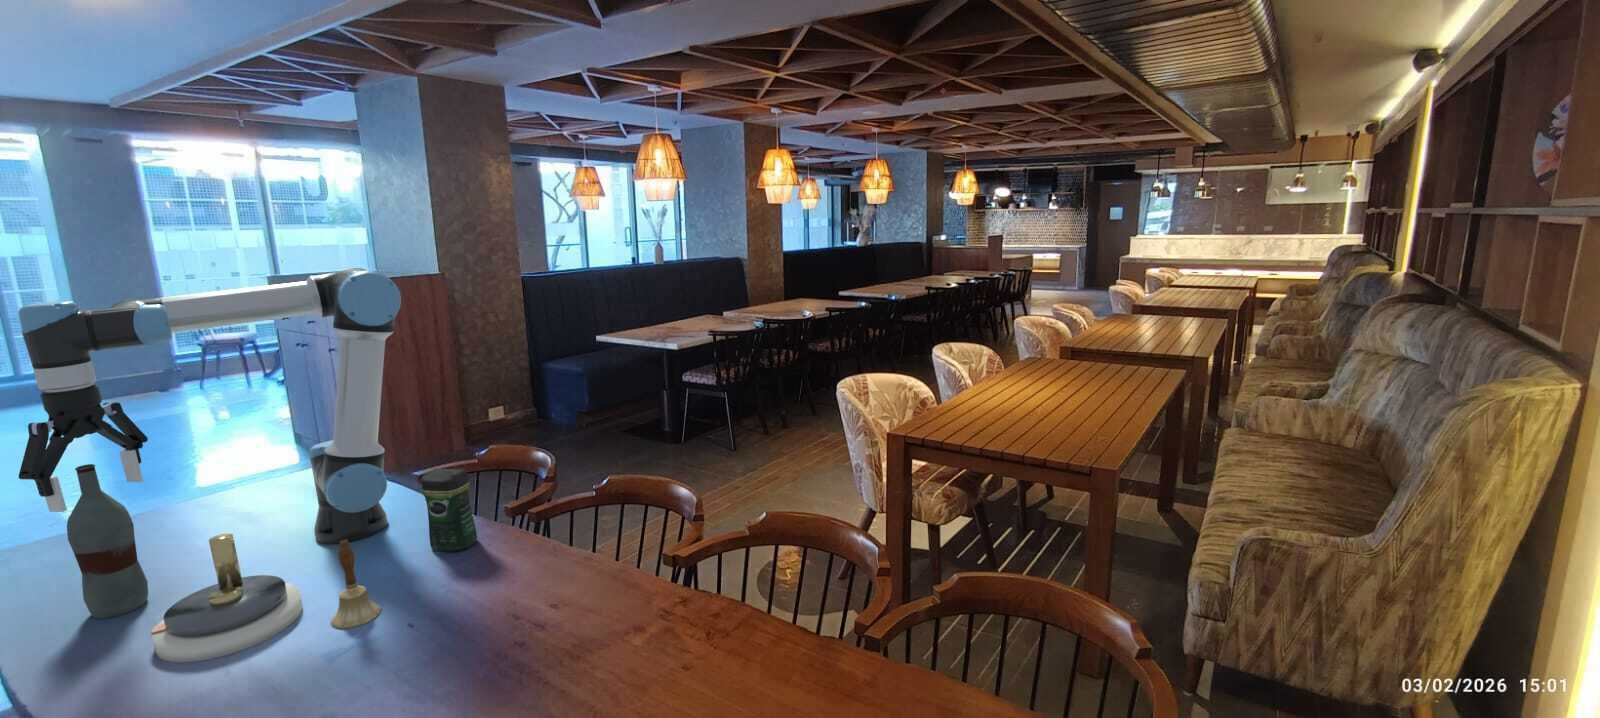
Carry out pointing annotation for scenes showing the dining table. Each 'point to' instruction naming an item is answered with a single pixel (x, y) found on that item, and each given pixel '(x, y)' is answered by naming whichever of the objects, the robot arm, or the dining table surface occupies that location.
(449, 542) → the coffee jar
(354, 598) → the hand bell
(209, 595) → the handwheel
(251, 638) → the wheel base
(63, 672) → the dining table surface
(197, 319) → the robot arm
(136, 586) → the bottle
